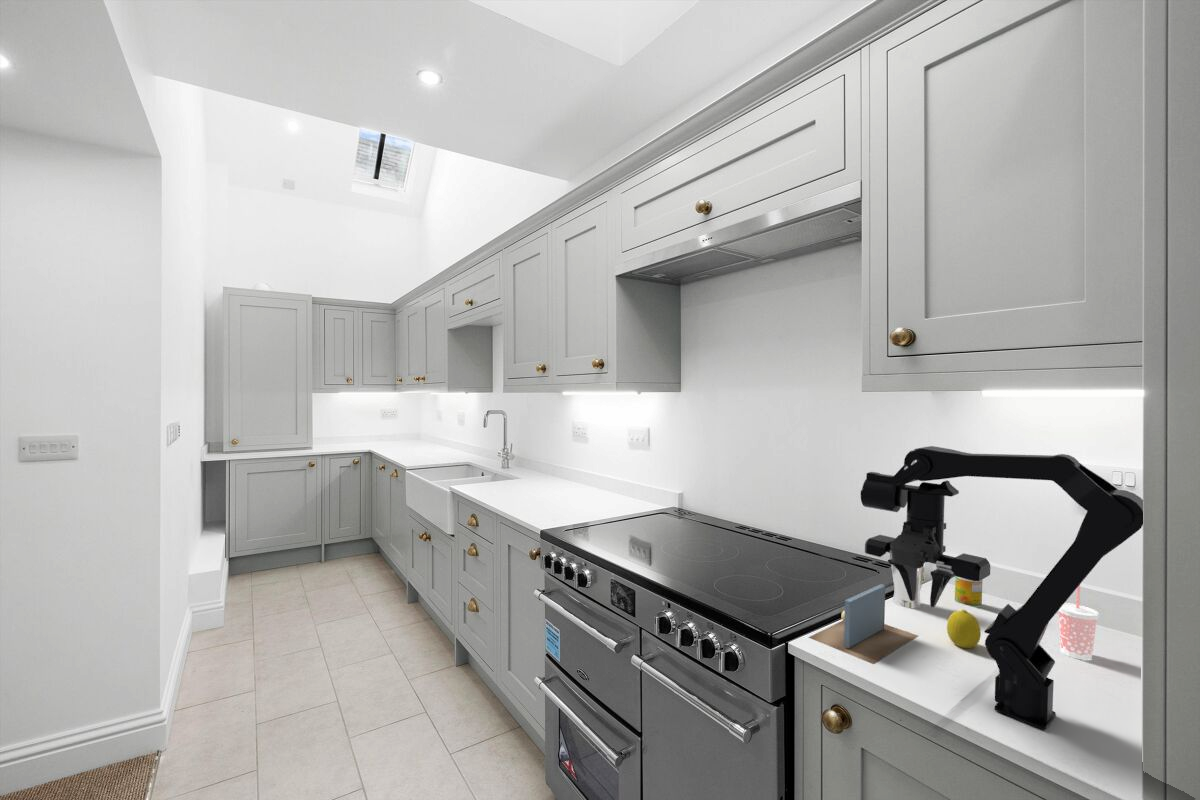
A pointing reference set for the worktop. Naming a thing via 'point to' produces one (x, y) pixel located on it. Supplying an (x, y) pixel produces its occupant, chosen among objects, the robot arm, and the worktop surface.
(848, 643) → the door
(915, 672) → the worktop surface
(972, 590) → the supplement bottle
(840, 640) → the brown flat rectangle
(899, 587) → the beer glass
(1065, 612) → the beverage cup
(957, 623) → the lemon
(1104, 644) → the worktop surface
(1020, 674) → the robot arm
